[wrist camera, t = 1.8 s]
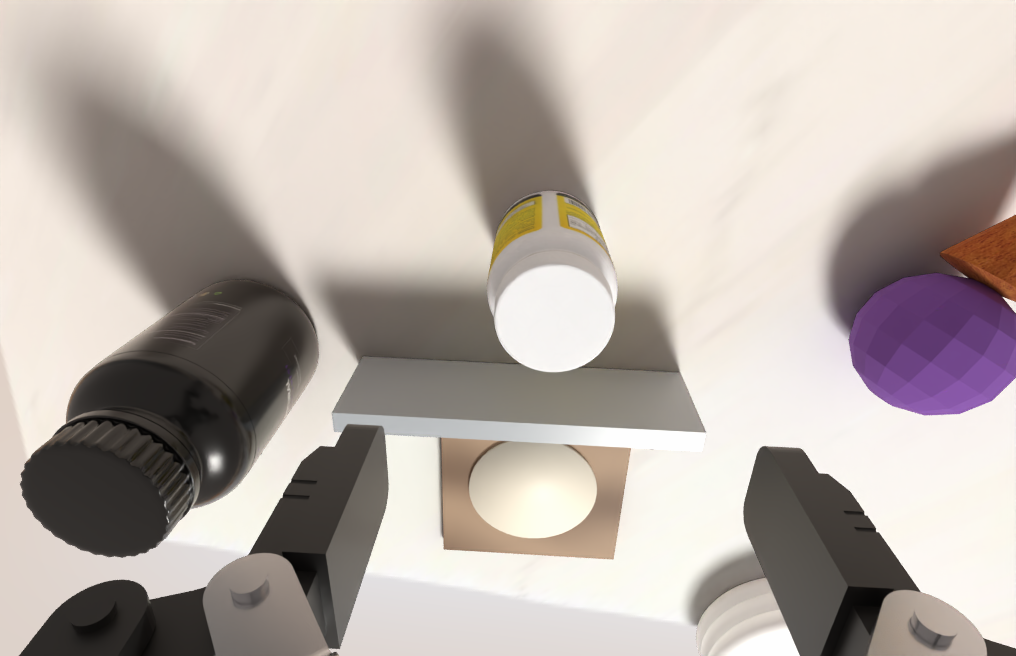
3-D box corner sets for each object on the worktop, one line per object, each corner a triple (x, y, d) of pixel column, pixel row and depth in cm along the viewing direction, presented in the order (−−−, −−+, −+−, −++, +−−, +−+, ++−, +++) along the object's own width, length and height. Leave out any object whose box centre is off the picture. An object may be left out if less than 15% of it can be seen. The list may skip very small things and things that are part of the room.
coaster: (721, 560, 35) (739, 611, 32) (882, 583, 35) (916, 636, 32) (675, 664, 39) (687, 718, 36) (819, 684, 40) (843, 739, 37)
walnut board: (442, 401, 31) (440, 410, 30) (633, 411, 30) (636, 420, 30) (445, 541, 35) (443, 552, 34) (612, 551, 35) (613, 561, 34)
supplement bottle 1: (343, 382, 30) (236, 570, 20) (224, 404, 31) (60, 595, 21) (292, 260, 27) (134, 401, 17) (163, 288, 28) (-64, 440, 18)
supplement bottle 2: (496, 288, 28) (480, 381, 20) (495, 187, 26) (478, 249, 18) (597, 289, 27) (620, 384, 20) (605, 189, 25) (634, 252, 18)
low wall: (362, 356, 30) (331, 412, 25) (680, 372, 29) (706, 432, 25) (364, 373, 30) (334, 431, 26) (676, 389, 30) (701, 451, 25)
